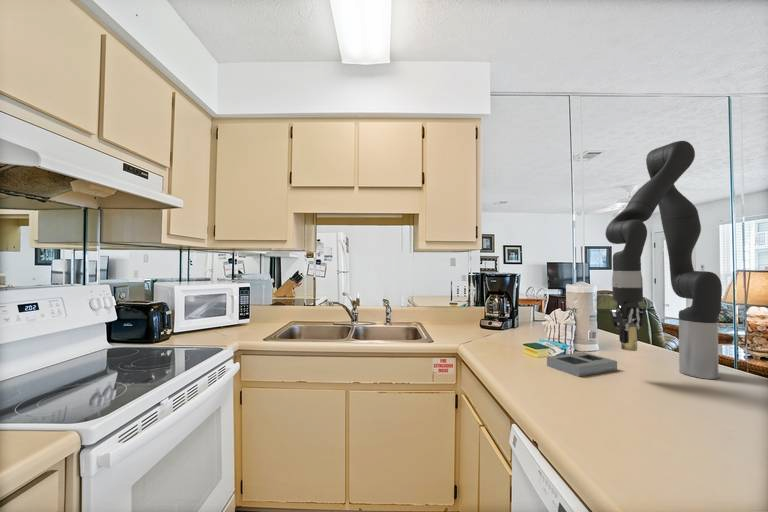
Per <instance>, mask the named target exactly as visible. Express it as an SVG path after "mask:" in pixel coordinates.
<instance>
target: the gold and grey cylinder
mask: <svg viewBox="0 0 768 512" xmlns="http://www.w3.org/2000/svg"><path fill="white" fill-rule="evenodd" d="M623 324H624V325H625V323H623ZM628 335H629V343H622V342H620V346H621V347H620V349H622V350H624V351H628V352H637V351H638V341H637V323H633V322H631V323H630V324H629V327H628Z"/></svg>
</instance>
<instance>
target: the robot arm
mask: <svg viewBox="0 0 768 512" xmlns="http://www.w3.org/2000/svg"><path fill="white" fill-rule="evenodd" d="M695 157H696V152H695V147H694V146H693V144H692V143H690V142H689V141H687V140H679V141H674V142H673V141H672V142H671V143H668V144H665V145H662V146H659V147H657V148H654V149H652V150H650V151H649V152H648V153H647V155H646V159H645V160H646V161H645V163H646V168H647V169H646V170H647V172H648V176H649V180H648V181H647V182H645V183H644V184H643V185H642V186H641V187H640V188H638V189H637V191H635V193H634V194H633V196H631V198H630V200H629V202H628V203H627V205H626V206H625V208H624V209H623V210H622V211H621V212H619V213H618V214H617V215H616V216H615V217H614V218H612V220H611V221H610V222H609V223H608V225H607V227H606V229H605V238H606V240H607V241H608V242H609V243H611V244H613V245H614V244H615V245H623V244H624V248H623V249H622V250H620V251H616V252H614V253H613V255H612V277H611V283H612V287H611V288H612V300H613V301H615V302H616V307H615V309H610V310H609V315H610V318H611V322H612V326H613V328H614V329H617V330H618V333H619V335H618V336H619V342H620V343H621V342H622V343H629V335H628V327H629V324H630V323H631V322H633V323H637V342H638V341H639V330H640V328H642V327H643V326H644V321H645V318H646V317H645V316H646V312H647V311H646V310H647V309H646V307H641V306H640V304H639V303H642V302H643V301H644V291H643V289H644V288H643V287H644V285H643V276H642V263H641V262H642V261H641V260H642V259H641V258H642V254H643V251H644V247H645V244H646V241H647V237H648V229H647V226H646V224H645V223H644V222H647V221H648V220H649V219H650V218H651V217H652V215H653V213H654V212H655V210H656V209H657V207H658V209H659V214H660V219H661V220H660V222H661V225H662V230H663V235H664V239H665V243H666V249H667V255H668V262H669V274H670V275H669V276H670V283H671V284H670V285H671V288H672V290H673V293H674V294H675V295H676V296H678V297H679V298H682V299H687V300H688V299H689V300H692V301H691V302H692V303H691V305H690V307H688V308H685V309H681V310H679V311H678V366H679V367H678V369H679V373H682V374H684V375H687V376H691V377H694V378H701V379H706V380H707V379H708V380H709V379H710V380H711V379H713V380H714V379H715V380H716V379H719V377H720V376H719V372H720V371H719V322H718V321H719V317H720V314H721V312H722V299H723V297H722V295H723V285H722V281H721V279H720V277H719V276H718V275H717V273H715V272H712V271H708V270H706V271H704V270H703V271H702V270H695V269H694V265H693V258H692V257H693V251H694V248H695V246H696V245H697V242H698V240H699V238H700V235H701V231H702V225H701V221H700V215H699V212H698V209H697V207H696V206H695V204H693V202H691V201H690V200H689V198H687V197H686V196H684V195H683V194H682V193H681V192H680V191H679V190H678V189H677V187H676V186H675V183H676V182H677V181H678V180H679V179H680V178H681V176H682V175H683V174H684V173H685V172H686V171H687V170H688V169H689V168H690V167H691V165H692V164H693V162H694V160H695ZM623 323H625V325H624V324H623Z"/></svg>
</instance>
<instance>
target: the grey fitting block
mask: <svg viewBox="0 0 768 512" xmlns="http://www.w3.org/2000/svg"><path fill="white" fill-rule="evenodd" d="M546 366H547V367H549V368H553V369H556V370H559V371H561V372H564V373H567V374H570V375H573V376H576V377H585V376H591V375H596V374H602V373H609V372H614V371H615V372H617V371H618V361H617V360H616V359H611V358H606V357H603V356H599V355H595V354H591V353H588V352H584V351H581V352H574V353H573V352H572V353H568V354H559V355H552V356H547V357H546Z"/></svg>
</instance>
